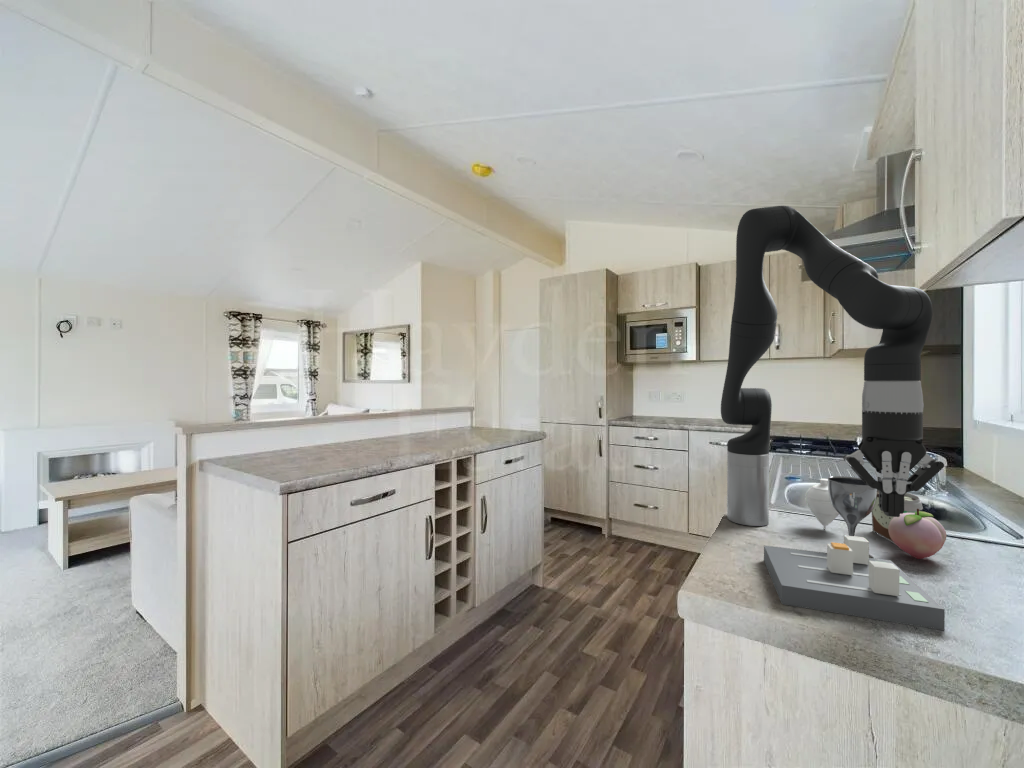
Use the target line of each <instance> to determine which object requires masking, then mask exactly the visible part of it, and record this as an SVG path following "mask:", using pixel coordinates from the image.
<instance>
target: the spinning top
mask: <svg viewBox="0 0 1024 768" xmlns="http://www.w3.org/2000/svg"><path fill="white" fill-rule="evenodd" d="M804 498H805V502H806V504H807V507H808V509H809V510H810V512H811V513H812V514H813V516H814V517H815V518H816V520H817V521H818V523H820V525H822V526H823V530H824V529H826V527H827V526H829V525H830V524H831V523H832V522H833V521H835V519H836V518H837V517H838V516H840V514H839V513H838V512H837V511H836V510H835V509H834V508H833V506H832V504H831V502H830V498H829V493H828V478H820V479H819V484H814V485H812V486H811V487H810V488H808V489H807V491H806V492H805V496H804ZM826 530H827V529H826Z"/></svg>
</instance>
